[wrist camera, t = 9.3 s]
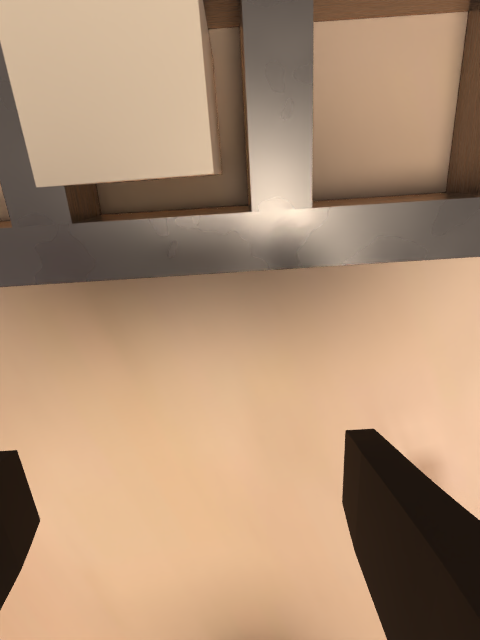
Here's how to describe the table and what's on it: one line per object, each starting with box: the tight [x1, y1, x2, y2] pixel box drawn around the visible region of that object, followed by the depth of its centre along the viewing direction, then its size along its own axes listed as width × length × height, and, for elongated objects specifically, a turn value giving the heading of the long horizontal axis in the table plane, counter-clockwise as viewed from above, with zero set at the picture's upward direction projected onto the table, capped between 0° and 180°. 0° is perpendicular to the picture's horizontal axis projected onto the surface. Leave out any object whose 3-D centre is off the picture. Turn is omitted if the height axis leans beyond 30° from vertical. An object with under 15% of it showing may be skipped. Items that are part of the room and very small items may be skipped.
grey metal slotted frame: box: [0, 0, 480, 287], centre depth 13 cm, size 26×10×3 cm, turn 93°
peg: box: [0, 0, 222, 187], centre depth 11 cm, size 4×4×7 cm
